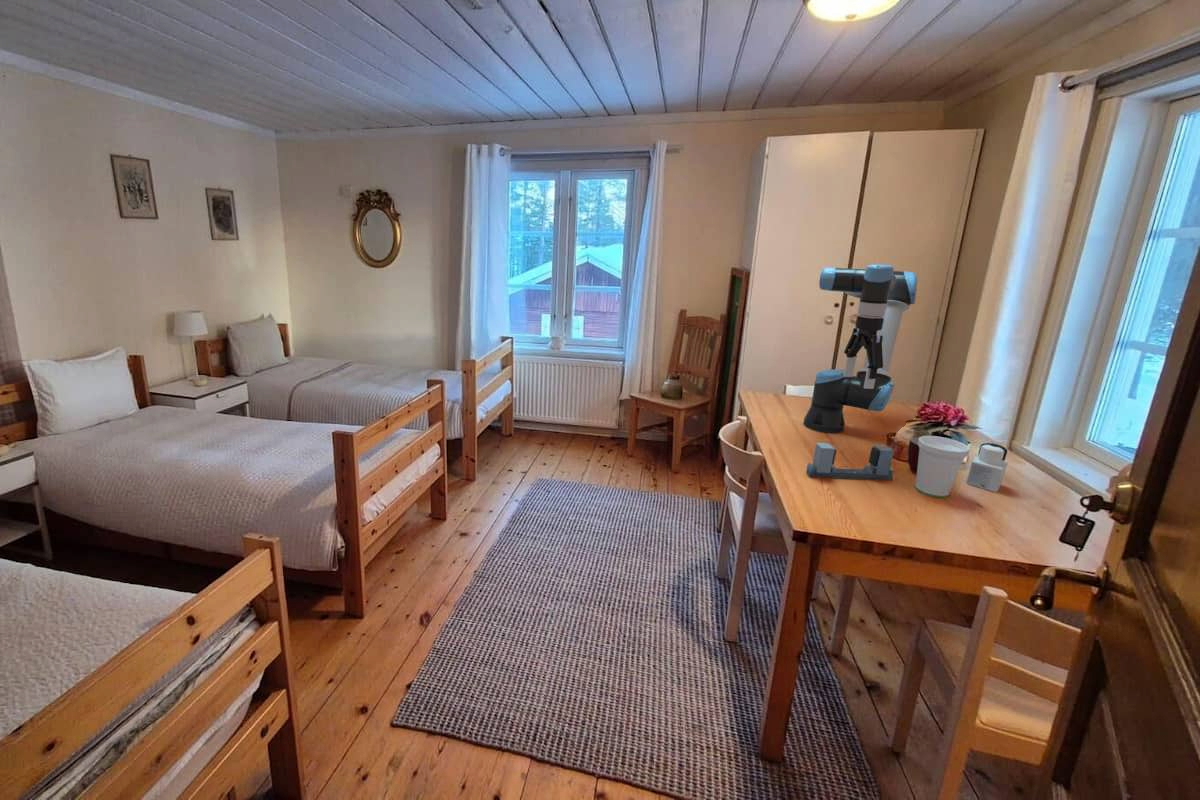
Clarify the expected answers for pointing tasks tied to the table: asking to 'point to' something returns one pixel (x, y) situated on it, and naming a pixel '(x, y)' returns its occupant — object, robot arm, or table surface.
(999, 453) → the container
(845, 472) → the rail
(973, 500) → the table surface
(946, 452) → the cup
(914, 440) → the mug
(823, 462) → the finger right
